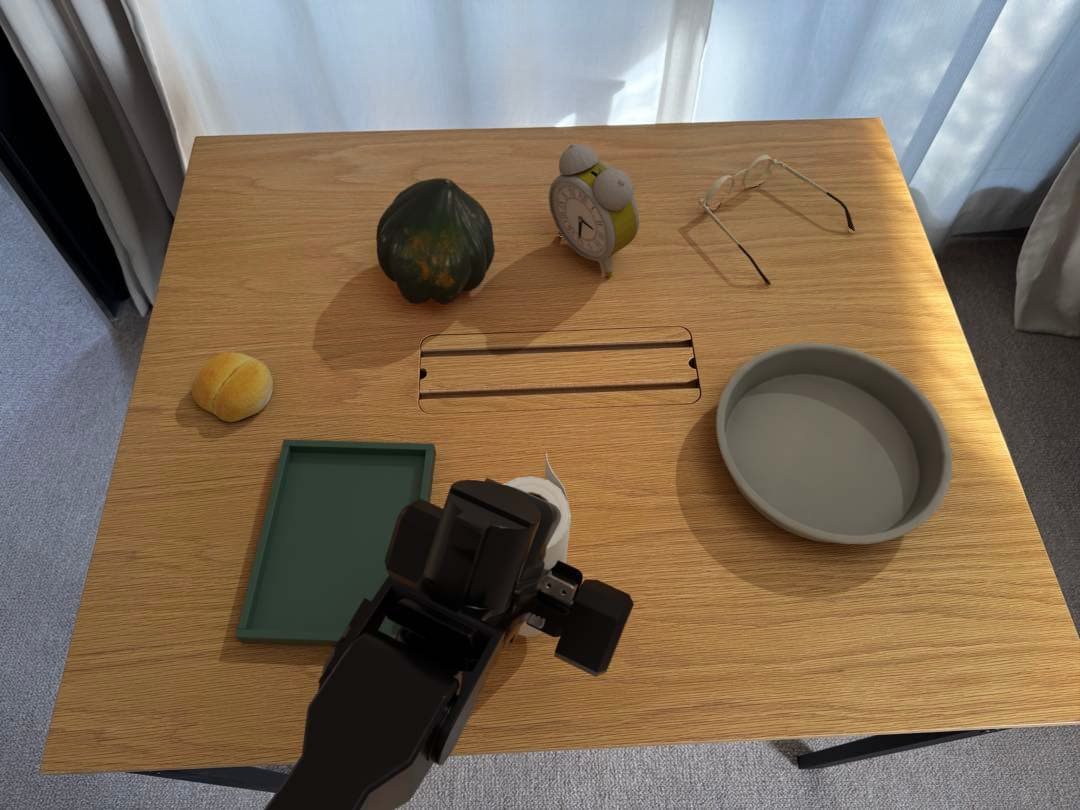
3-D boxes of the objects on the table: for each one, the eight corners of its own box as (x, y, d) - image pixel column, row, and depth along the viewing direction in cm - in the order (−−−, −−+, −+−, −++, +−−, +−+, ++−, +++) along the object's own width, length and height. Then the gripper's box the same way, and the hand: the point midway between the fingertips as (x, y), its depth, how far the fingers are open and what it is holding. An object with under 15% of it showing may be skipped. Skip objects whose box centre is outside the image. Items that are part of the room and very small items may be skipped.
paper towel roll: (524, 651, 71) (523, 568, 53) (484, 601, 73) (470, 506, 55) (582, 602, 73) (600, 507, 55) (542, 556, 76) (546, 450, 58)
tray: (412, 648, 74) (408, 643, 72) (241, 642, 74) (234, 637, 73) (436, 452, 86) (434, 443, 84) (288, 448, 86) (283, 439, 84)
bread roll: (244, 434, 87) (232, 416, 83) (185, 401, 89) (171, 382, 86) (291, 382, 91) (282, 362, 87) (234, 351, 93) (222, 331, 90)
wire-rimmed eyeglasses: (776, 170, 110) (786, 141, 106) (857, 232, 103) (871, 204, 99) (687, 219, 105) (693, 191, 100) (766, 289, 98) (776, 262, 94)
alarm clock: (546, 237, 103) (546, 146, 90) (583, 213, 105) (588, 121, 93) (606, 287, 98) (615, 198, 85) (643, 261, 101) (658, 171, 88)
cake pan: (965, 557, 79) (986, 540, 75) (725, 561, 79) (735, 545, 75) (901, 362, 92) (916, 339, 88) (696, 364, 92) (702, 342, 88)
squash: (344, 286, 91) (414, 217, 82) (368, 202, 100) (434, 130, 90) (441, 341, 99) (516, 284, 89) (455, 258, 107) (525, 197, 98)
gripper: (638, 580, 47) (675, 508, 61) (377, 462, 51) (470, 421, 66) (579, 729, 49) (628, 626, 64) (336, 604, 54) (434, 535, 68)
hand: (539, 548), depth 65 cm, fingers closed on paper towel roll, 3 cm apart
